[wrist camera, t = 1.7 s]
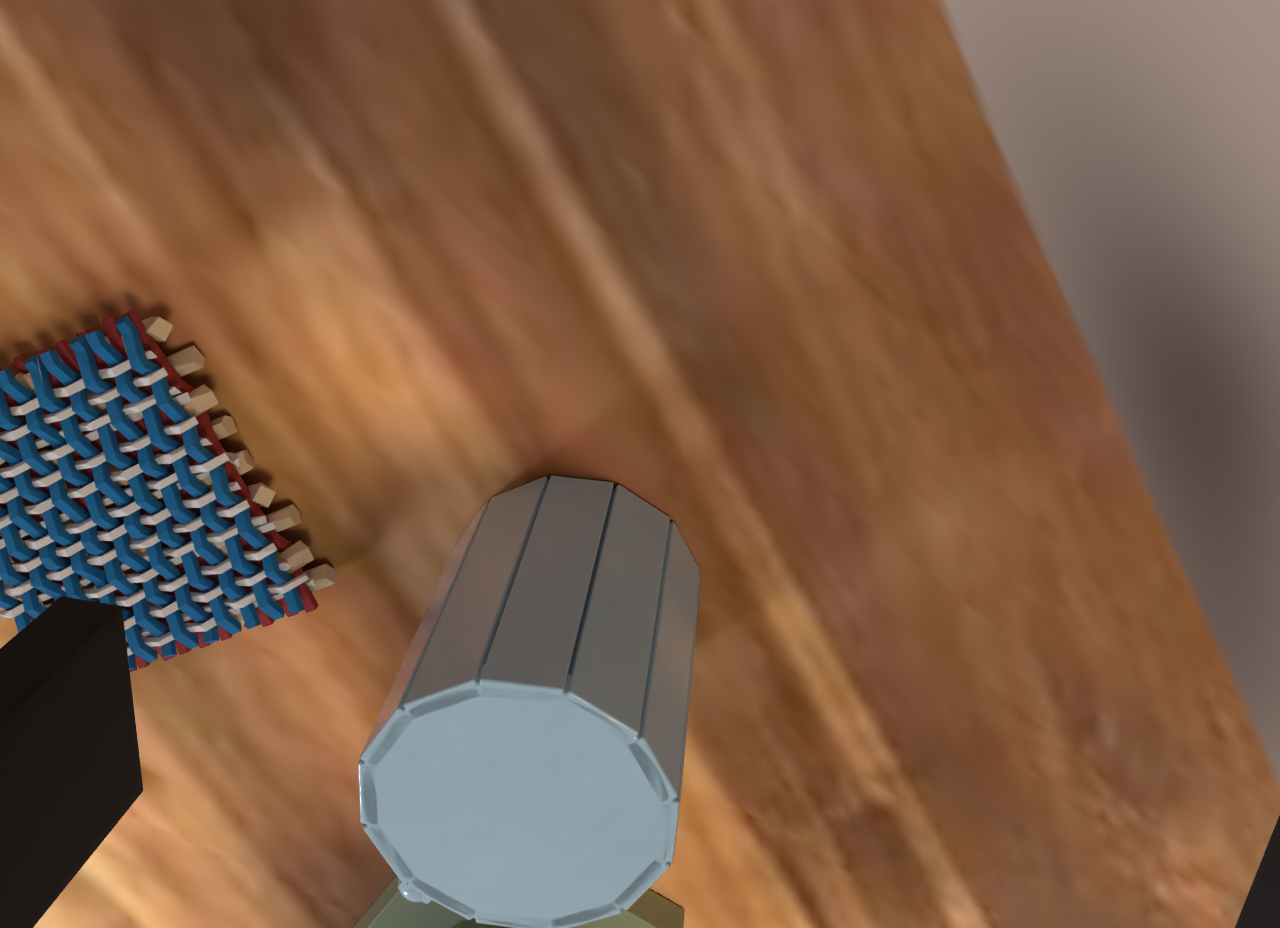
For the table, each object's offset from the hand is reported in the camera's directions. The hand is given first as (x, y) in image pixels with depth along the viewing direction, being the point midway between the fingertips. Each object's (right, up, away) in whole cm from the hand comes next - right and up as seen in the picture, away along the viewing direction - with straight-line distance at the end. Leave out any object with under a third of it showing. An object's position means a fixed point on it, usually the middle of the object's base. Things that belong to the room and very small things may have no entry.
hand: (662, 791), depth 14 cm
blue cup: (-3, -1, +24) cm, 24 cm away
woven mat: (-16, +3, +24) cm, 29 cm away
